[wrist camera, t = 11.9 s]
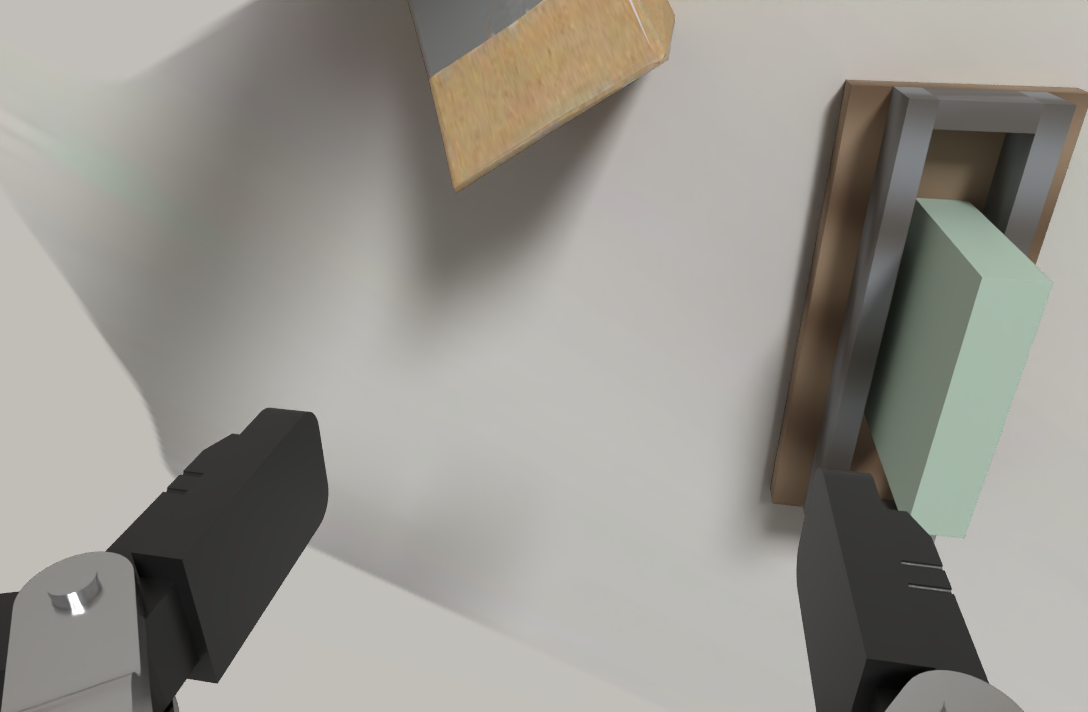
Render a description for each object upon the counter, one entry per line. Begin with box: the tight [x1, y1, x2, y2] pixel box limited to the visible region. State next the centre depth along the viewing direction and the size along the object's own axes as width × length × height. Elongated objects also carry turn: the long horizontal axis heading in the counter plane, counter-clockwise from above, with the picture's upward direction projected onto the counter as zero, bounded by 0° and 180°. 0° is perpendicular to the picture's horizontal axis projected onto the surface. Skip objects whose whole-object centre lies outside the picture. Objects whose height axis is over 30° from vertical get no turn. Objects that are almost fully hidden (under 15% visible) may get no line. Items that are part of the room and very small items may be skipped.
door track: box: [770, 80, 1088, 542], centre depth 39 cm, size 24×10×4 cm, turn 179°
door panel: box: [864, 198, 1054, 538], centre depth 35 cm, size 12×3×10 cm, turn 179°
